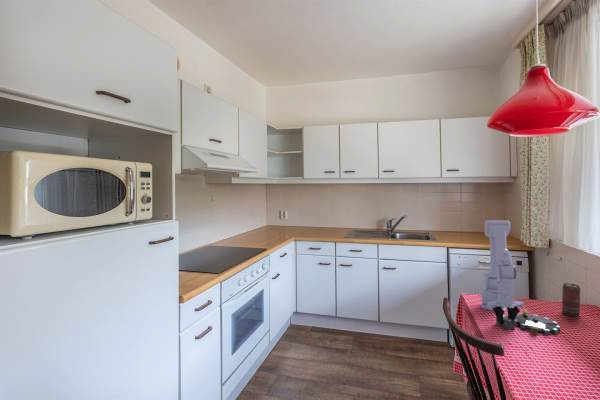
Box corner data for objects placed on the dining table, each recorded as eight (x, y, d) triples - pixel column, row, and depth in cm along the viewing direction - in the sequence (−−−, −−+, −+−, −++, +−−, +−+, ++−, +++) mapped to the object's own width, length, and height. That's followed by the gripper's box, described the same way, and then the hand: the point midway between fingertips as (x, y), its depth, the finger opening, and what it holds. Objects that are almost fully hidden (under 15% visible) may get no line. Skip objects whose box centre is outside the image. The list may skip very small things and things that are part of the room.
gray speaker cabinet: (514, 329, 128) (514, 320, 128) (505, 330, 128) (505, 320, 128) (505, 323, 134) (505, 314, 134) (496, 323, 134) (496, 314, 134)
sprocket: (534, 335, 123) (534, 325, 123) (504, 317, 139) (504, 309, 139) (570, 332, 124) (570, 323, 124) (536, 315, 140) (536, 307, 140)
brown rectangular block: (531, 333, 125) (531, 327, 125) (531, 332, 126) (531, 326, 125) (537, 335, 123) (537, 329, 123) (537, 334, 124) (537, 328, 124)
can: (571, 311, 144) (572, 282, 144) (583, 317, 138) (584, 287, 137) (558, 311, 145) (559, 282, 144) (568, 317, 139) (569, 287, 138)
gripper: (494, 296, 126) (494, 328, 127) (529, 295, 126) (528, 327, 127) (484, 290, 133) (484, 320, 134) (517, 289, 133) (516, 319, 134)
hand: (505, 323), depth 131 cm, fingers closed on gray speaker cabinet, 4 cm apart
